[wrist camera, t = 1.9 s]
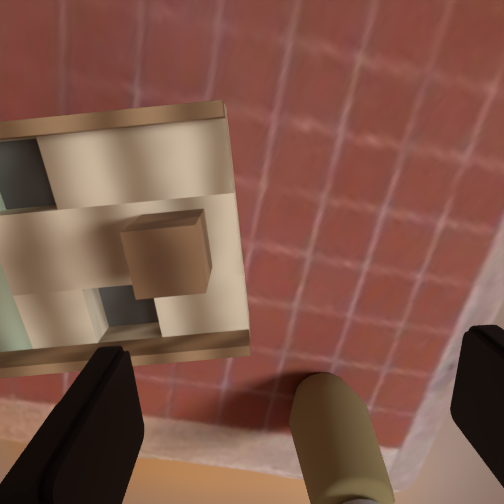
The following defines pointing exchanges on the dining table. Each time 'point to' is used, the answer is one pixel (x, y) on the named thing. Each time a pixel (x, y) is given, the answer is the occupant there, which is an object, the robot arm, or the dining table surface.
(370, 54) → the dining table surface
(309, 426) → the squeeze bottle
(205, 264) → the walnut block
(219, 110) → the box
